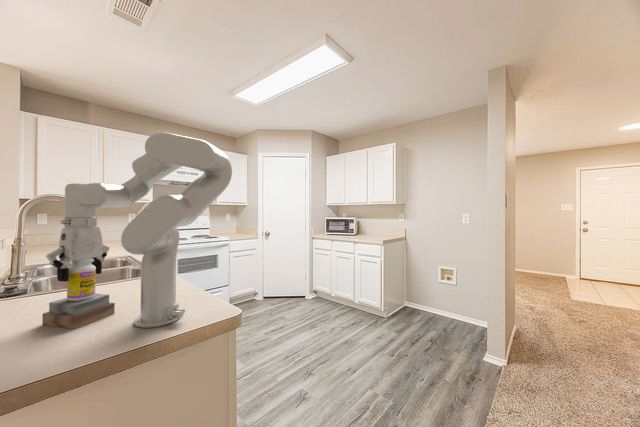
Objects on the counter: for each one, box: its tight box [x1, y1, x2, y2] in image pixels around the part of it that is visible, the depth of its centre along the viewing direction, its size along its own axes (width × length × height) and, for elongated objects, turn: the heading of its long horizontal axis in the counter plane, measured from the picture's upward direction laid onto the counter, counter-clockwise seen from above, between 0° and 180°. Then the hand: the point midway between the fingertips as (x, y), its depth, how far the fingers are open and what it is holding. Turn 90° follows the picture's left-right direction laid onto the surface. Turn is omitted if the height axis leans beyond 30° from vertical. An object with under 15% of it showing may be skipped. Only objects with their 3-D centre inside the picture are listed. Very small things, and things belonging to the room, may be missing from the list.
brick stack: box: [42, 293, 116, 330], centre depth 83 cm, size 12×12×6 cm
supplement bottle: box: [66, 258, 97, 301], centre depth 83 cm, size 7×7×13 cm
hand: (80, 277), depth 83 cm, fingers open, 9 cm apart
